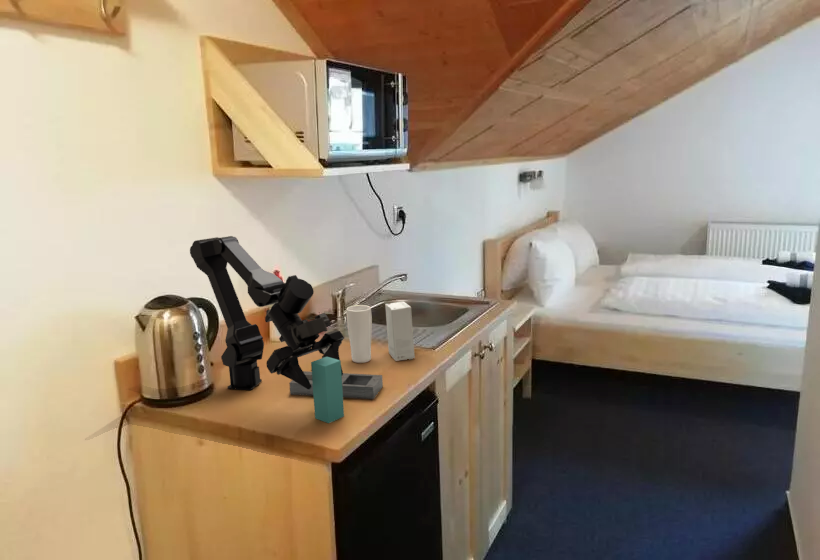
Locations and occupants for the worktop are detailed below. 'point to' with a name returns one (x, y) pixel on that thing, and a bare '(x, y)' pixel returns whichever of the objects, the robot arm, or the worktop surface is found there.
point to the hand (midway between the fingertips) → (326, 381)
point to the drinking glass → (360, 332)
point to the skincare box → (400, 331)
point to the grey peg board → (346, 386)
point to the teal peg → (327, 389)
